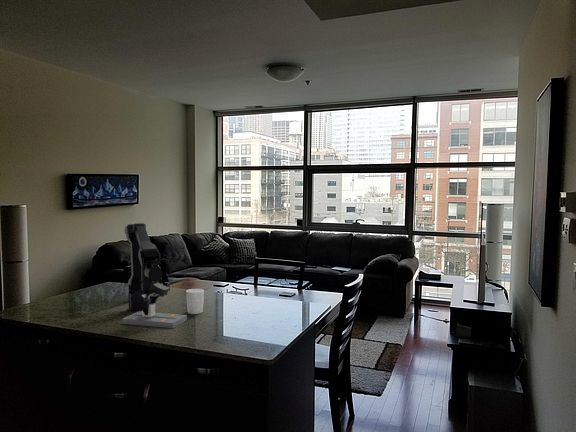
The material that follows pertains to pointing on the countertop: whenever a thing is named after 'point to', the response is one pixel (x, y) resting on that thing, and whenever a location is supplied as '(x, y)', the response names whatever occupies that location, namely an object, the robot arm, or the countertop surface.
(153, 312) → the fader cap
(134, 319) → the slider track base
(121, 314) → the countertop surface
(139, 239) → the robot arm
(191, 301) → the white cup
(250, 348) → the countertop surface
